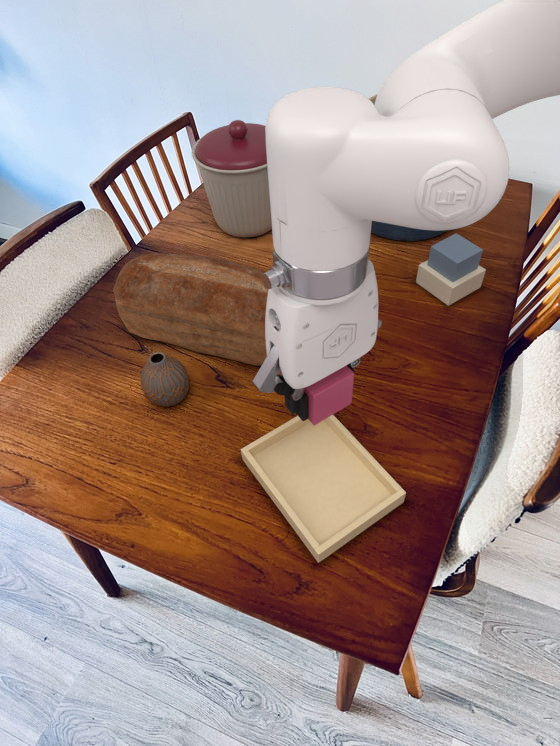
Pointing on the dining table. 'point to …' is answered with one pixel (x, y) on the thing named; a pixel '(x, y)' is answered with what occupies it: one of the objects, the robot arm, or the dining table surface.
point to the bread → (195, 304)
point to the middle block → (454, 257)
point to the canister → (236, 177)
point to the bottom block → (448, 283)
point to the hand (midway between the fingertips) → (319, 397)
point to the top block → (330, 395)
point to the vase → (164, 380)
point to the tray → (322, 482)
